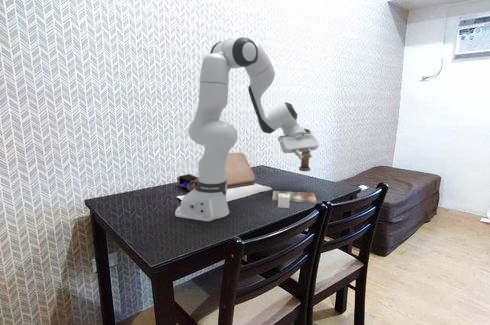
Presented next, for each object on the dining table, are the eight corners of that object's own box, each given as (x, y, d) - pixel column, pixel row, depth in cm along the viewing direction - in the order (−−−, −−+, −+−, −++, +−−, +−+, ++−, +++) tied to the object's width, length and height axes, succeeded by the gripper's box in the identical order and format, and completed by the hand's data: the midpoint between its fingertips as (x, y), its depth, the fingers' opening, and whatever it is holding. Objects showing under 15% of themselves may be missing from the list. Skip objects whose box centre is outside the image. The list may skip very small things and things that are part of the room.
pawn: (299, 171, 140) (300, 149, 138) (298, 168, 145) (299, 147, 143) (310, 171, 139) (311, 150, 137) (309, 168, 144) (310, 148, 142)
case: (223, 189, 156) (223, 160, 152) (208, 179, 174) (208, 153, 170) (256, 184, 166) (257, 156, 162) (239, 175, 184) (239, 150, 180)
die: (277, 207, 133) (278, 196, 131) (278, 203, 137) (278, 193, 136) (289, 208, 132) (289, 197, 131) (289, 204, 137) (289, 193, 136)
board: (272, 200, 141) (272, 197, 141) (273, 193, 152) (273, 190, 151) (316, 202, 139) (316, 199, 138) (313, 195, 149) (313, 192, 149)
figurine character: (176, 189, 161) (189, 193, 148) (175, 175, 160) (187, 178, 147) (187, 186, 165) (201, 191, 152) (186, 173, 164) (199, 176, 151)
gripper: (279, 132, 139) (291, 156, 133) (313, 129, 149) (325, 152, 143) (274, 140, 144) (285, 164, 138) (306, 137, 153) (318, 159, 147)
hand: (306, 158), depth 140 cm, fingers closed on pawn, 4 cm apart
